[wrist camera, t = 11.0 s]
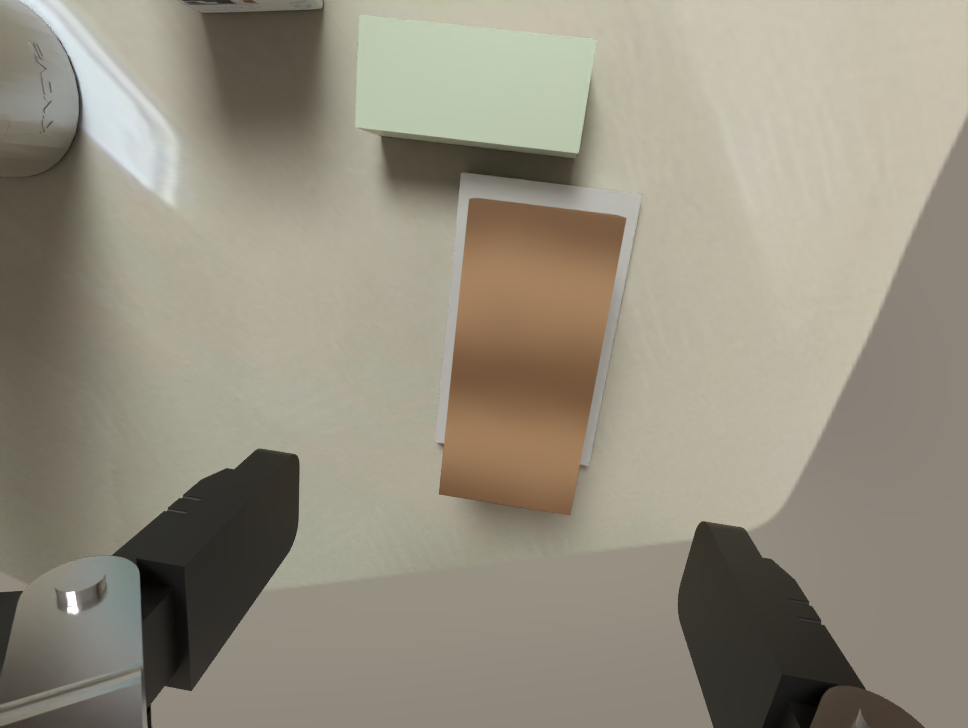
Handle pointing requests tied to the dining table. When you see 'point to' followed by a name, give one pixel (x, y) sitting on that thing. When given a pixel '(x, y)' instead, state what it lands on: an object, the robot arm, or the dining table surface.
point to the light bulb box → (251, 5)
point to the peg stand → (551, 197)
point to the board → (527, 351)
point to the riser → (472, 85)
